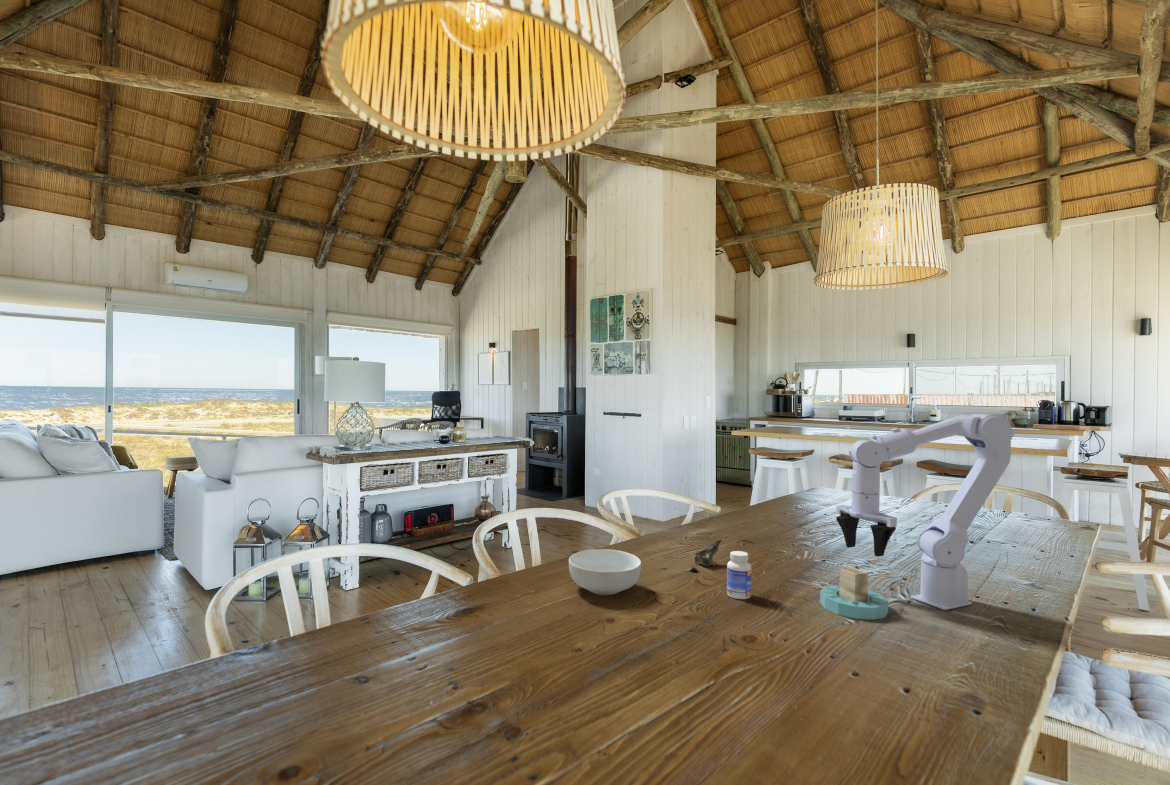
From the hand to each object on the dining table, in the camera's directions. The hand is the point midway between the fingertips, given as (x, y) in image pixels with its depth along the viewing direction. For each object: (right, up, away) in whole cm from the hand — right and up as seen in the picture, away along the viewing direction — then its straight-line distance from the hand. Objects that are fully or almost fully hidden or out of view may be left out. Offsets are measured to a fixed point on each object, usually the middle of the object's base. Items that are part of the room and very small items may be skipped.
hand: (864, 551), depth 129 cm
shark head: (-31, -10, +22) cm, 39 cm away
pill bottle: (-29, -10, -1) cm, 31 cm away
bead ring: (-6, -10, -7) cm, 14 cm away
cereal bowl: (-60, -10, +2) cm, 61 cm away
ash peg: (-6, -10, -7) cm, 14 cm away
